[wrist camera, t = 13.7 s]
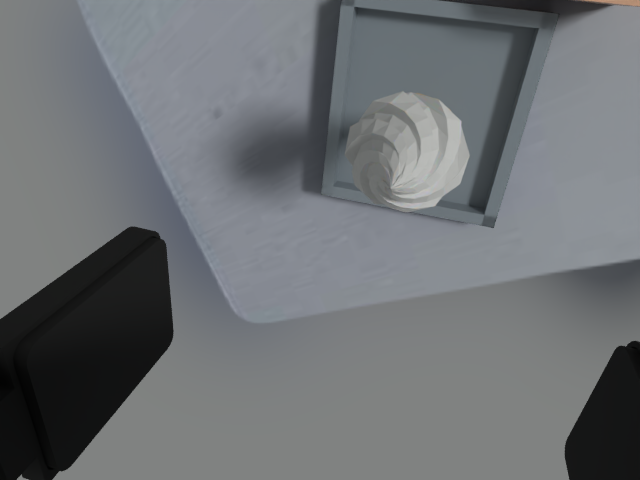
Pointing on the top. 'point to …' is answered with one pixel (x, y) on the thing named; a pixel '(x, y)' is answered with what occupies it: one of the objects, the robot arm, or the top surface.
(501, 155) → the slate tray
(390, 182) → the ice cream cone
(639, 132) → the top surface
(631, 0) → the holder cup
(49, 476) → the robot arm
